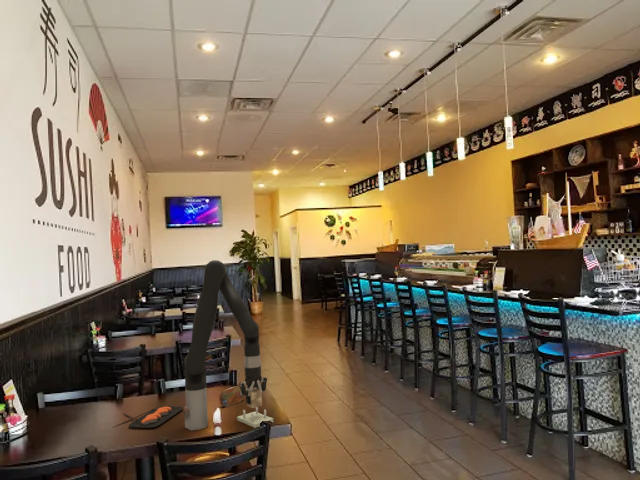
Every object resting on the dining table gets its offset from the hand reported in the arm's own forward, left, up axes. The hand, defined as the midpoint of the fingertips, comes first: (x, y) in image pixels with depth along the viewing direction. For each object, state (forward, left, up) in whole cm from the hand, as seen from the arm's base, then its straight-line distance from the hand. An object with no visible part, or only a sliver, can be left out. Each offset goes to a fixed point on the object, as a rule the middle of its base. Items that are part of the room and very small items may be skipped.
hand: (254, 402), depth 228 cm
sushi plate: (-35, +44, -9) cm, 57 cm away
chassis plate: (0, 0, -8) cm, 8 cm away
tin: (+6, +31, -9) cm, 33 cm away
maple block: (0, 0, -1) cm, 1 cm away
